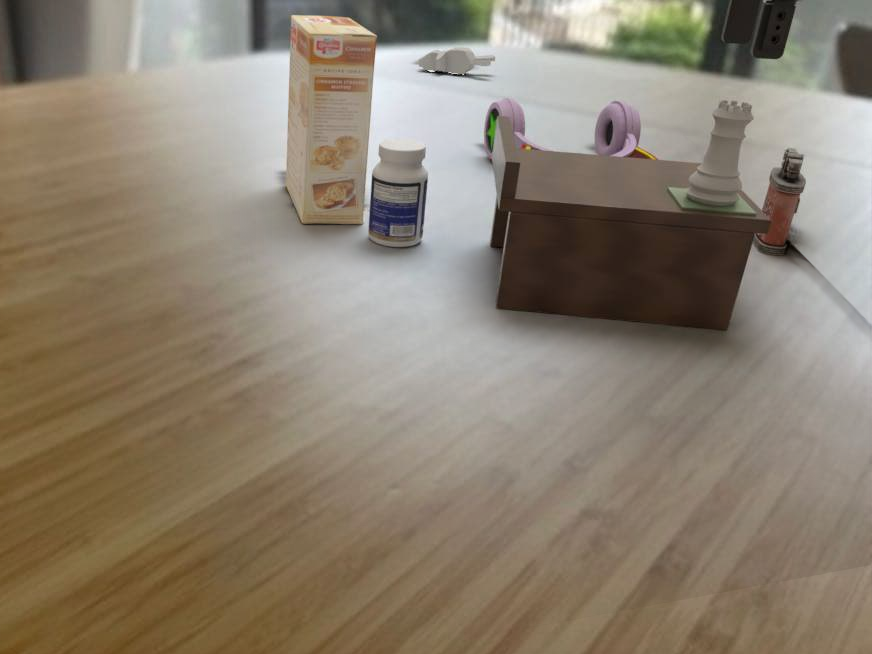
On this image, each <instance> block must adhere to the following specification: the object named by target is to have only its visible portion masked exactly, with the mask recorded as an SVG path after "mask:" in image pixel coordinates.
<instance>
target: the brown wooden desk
mask: <svg viewBox="0 0 872 654" xmlns="http://www.w3.org/2000/svg"><path fill="white" fill-rule="evenodd" d="M491 162H492V168H493V169H492V170H493V177H494V185H495V190H496V191H495V192H496V195H495V196H496V197H495V203H494V210H493V215H492V217H493V218H492V224H491V232H490V239H489V245H490V246H489V247H492V248H503V249H502V256H501V260H500V261H501V262H500V269H499V275H498V281H497V288H496V294H495V295H496V297H495V308H496V309H500V310H501V309H502V310H512V311H523V312H534V313H542V314H543V313H545V314H554V315H563V316H564V315H566V316H573V317H574V316H575V317H586V318H595V319H596V318H597V319H607V320H618V321H626V322H637V323H649V324H657V325H658V324H659V325H668V326H669V325H670V326H679V327H690V328H700V329H701V328H702V329H709V330H710V329H711V330H720V331H721V330H722V331H727V330H729V326H730V322H731V319H732V315H733V312H734V309H735V305H736V301H737V298H738V296H739V295H738V294H739V291H740V288H741V284H742V280H743V277H744V273H745V271H746V267H747V263H748V260H749V256H750V252H751V250H752V246H753V239H754V236H755V233H759V234H768V232H769V229H770V225H771V222H772V220H771V219H770V218H769V217H768V216H767V215H766V214H765V213H764V212H763V211H762V209H761V208H760V206H758V205H757V204H756V203H755V202H754V201H753V200H752V198H751V197H749V196H748V195H747V193H745V191H743V190H742V189H741V190H739V191H738V192H737V194H738V195H739V197H740V199H739V200H738V201H737V202H736V203H735V204H733V205H731V206H712V205H706V204H702V203H698V202H695V201H693V200H691V199H689V198H688V196H687V194H686V190H685V189H687V188H689V187H690V186H691V185H690V183H689V178H690V176H691V175H692V174H693V173H695V172H696V171H697V167H699V166H700V165H701V163H702V162H692V161H691V162H690V161H680V160H679V161H677V160H665V159H658V160H655V159H642V158H630V157H618V156H605V155H598V154H591V153H581V152H568V151H567V152H566V151H557V150H556V151H555V150H552V151H544V150H531V149H519V148H517V146H516V142H515V138H514V134H513V130H512V125H511V121H510V117H505V116H497V123H496V130H495V138H494V145H493V152H492V159H491Z"/></svg>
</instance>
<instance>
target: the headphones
mask: <svg viewBox="0 0 872 654" xmlns="http://www.w3.org/2000/svg"><path fill="white" fill-rule="evenodd" d="M497 116H505V117H510V121H511V125H512V130H513V134H514V138H515V142H516V146H517V148H519V149H531V150H544V151H553V150H551V149H548V148H546V147H543V146H541V145H539V144H536V143H534V142H533V141H531V140H529V139H528V138H527V137H526V118H525V112H524V109H523V108H522V106H521V104H520V103H519V102H517V101H516V100H515V99H514V98H508V97H507V98H502V99H501V100H498V101H494V102H492V103H491V104H490V105H489V107H488V109H487V113H486V116H485V120H484V127H483V141H484V142H483V145H484V150H485V153H486V156H487V158H488V159H490V160H492V152H493V145H494V138H495V130H496V123H497ZM594 128H595V129H594V148H595V151H596V155H605V156H618V157H630V158H642V159H655V160H659V159H658V158H657V157H656V156H655V155H653V154H652V153H651V152H648V150H647V151H646V150H645V149H643V148H641V147H639V144H640V138H641V130H642V122H641V117H640V113H639V111H638V109H637V107H636V106H634V105H633V104H629V103H627V102H626V101H624V100H613V101H611V102H610V103H609V104H607V105H606V106H604V107H603V109H601V112H600V113H599V115H598V116H597V119H596V123H595V127H594Z"/></svg>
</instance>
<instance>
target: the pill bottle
mask: <svg viewBox="0 0 872 654" xmlns="http://www.w3.org/2000/svg"><path fill="white" fill-rule="evenodd" d="M426 150H427V146H426V144H425V143H423V142H422V141H418V140H414V139H407V138H390V139H384V140H382V141H380V142H379V144H378V156H379V158H380V161H379V162H378V163H376V165H374V167H373V169H372V172H371V185H370V186H371V187H370V200H369V215H368V231H367V232H368V233H367V234H368V238H370V240H371V241H373V243H376V244H378V245H380V246H385V247H391V248H407V247H413V246H415V245H418V244H419V243H420V242H421V241H422V239H423V236H424V227H425V214H426V203H427V191H428V183H429V173H428V170H427V169H426V166H424V165H423V161H424V159H426V153H427V151H426Z"/></svg>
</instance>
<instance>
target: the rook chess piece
mask: <svg viewBox="0 0 872 654" xmlns="http://www.w3.org/2000/svg"><path fill="white" fill-rule="evenodd" d="M738 102H739V101H738V100H731V101H730V103H729V100H727V99H726V100H725V99H723V100H721V101H720V100H719V102H718V105H717V107H716V108H715V109H714V110H713V111H712V112H711V115H712V118H713V120H714V126H713V128H712V129H711V130H710V131H709V133H710V136H711V137H710V141H709V145H708V147H707V148H706V149H707V150H706V152H705V154H704V157H703V159H702V161H701V162H700V163H701V165H700V166H699V167H697V171H696V172H695V173H693V174H692V175H691V176H690V178H689V183H690V185H691V186H690V187H689V188H687V189H685V190H686V194H687V196H688V198H689V199H691V200H693V201H695V202H698V203H702V204H706V205H712V206H731V205H733V204H735V203H736V202H737V201H738V200H739V199H740V197H739V195H738V194H737V192H738V191H739V190H742V189H743V183H742V180H741V179H740V175H741V173H740V171H739V160H740V153H741V148H742V145H743V144H742V143H743V140H744V139H746V137H747V136H746V134H745V129H746V127H747V126H748V125H749V124H750V123H751V122H752V121H753V120H754V119H755V118H754V115H753V113H752V108H753V104H750V103H749V102H745V101H743V102H741V104H740V105H738Z"/></svg>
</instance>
